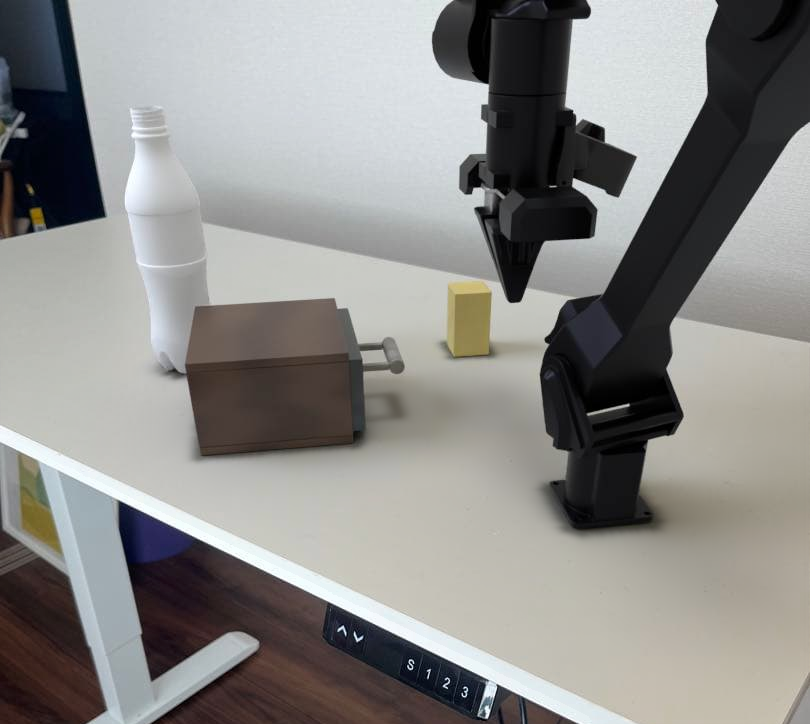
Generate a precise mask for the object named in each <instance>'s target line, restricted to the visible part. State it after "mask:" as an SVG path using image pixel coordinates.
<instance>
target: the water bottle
mask: <svg viewBox="0 0 810 724" xmlns="http://www.w3.org/2000/svg"><path fill="white" fill-rule="evenodd" d="M129 113H130V119H131V123H132V126H131V130H132V133H131V138H132V139H134V143H135V144H134V146H135V147H134V149H135V151H134V158H133V162H132V166H131V168H130V172H129V175H128V179H127V183H126V186H125V191H124V209H125V211H126V212H127V217H128V223H129V228H130V234H131V238H132V239H131V240H132V243H133V249H134V253H135V260H136V264H137V266H138V268H139V271H140V274H141V276H142V279H143V283H144V286H145V291H146V294H147V295H146V296H147V299H148V305H149V313H150V342H151V346H152V350H153V352H154V355H155V357H156V359H157V360H158V362H159V364H160V365H161V366H162V367H163V368H164V369H165V370H167V371H172V370H173V369H176V371H177V372H179V373H180V374H183V375H186V369H185V360H186V354H187V349H188V343H189V338H190V332H191V327H192V321H193V316H194V310H195V307H196V306H211V305H212V304H211V300H210V295H209V287H208V275H207V262H208V253H207V248H206V241H205V233H204V228H203V227H204V226H203V220H202V213H201V207H200V206H201V200H200V195H199V193H198V190H197V188H196V187H195V184H194V183H193V182H192V179H191V178H190V176H189V175H188V173H187V171H186V169H184V167H183V165H182V163H180V161H179V159H178V158H177V156H176V155H175V153H174V151H173V148H172V145H171V142H170V138H169V137H171V132H170V131H169V130H168V128H169V126H168V125H167V124H166V116H165V111H164V106H161V105H144V106H134V107H130V108H129Z"/></svg>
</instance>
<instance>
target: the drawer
mask: <svg viewBox="0 0 810 724" xmlns="http://www.w3.org/2000/svg"><path fill="white" fill-rule="evenodd" d="M337 309H338V313H339V317H340V321H341V325H342V329H343V333H344V337H345V341H346V344H347V348H348V352H349V368H350V386H351V405H352V423H353V432H357V431H359V432H360V431H366V409H365V408H366V407H365V385H364V373H365V372H380V371H390V372H391V373H392V374H394V375H400V374H402V373H403V372H404V371H405V368H406V367H405V363H404V360H403V357H402V355H401V353H400V349H399V347H398V344H397V342H396V339H395V338H394V337H391V336H386V337H384V338H383V339H382V341H379V342H363V343H358V339H357V335H356V332H355V328H354V324H353V321H352V318H351V314H350V311H349V308H348V307H343V308H337ZM370 351H372V352H373V351H383V353H384V357H385V359H386V361H380V362H367V363H364V359H363V356H362V353H361V352H370Z"/></svg>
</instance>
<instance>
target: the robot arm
mask: <svg viewBox="0 0 810 724" xmlns="http://www.w3.org/2000/svg"><path fill="white" fill-rule="evenodd" d="M714 1H715V3H716V4H717V7H716V10H715V12H714V15H713V18H712V21H711V24H710V26H709V29H708V33H707V34H706V38H705V44H704V45H705V65H706V66H705V67H706V88H707V93H706V96H705V97H706V98H705V100H704V102H703V104H702V106H701V108H700V110H699V112H698V114H697V116H696V118H695V119H694V121H693V123H692V125H691V127H690V128H689V131H688V133H687V134H686V136H685V138H684V139H683V142H682V144H681V145H680V147H679V150H678V152H677V153H676V156H675V157H674V160H673V161H672V163H671V165H670V167H669V169H668V170H667V172H666V174H665V176H664V178H663V180H662V182H661V184H660V186H659V188H658V190H657V191H656V193H655V195H654V197H653V199H652V200H651V202H650V205H649V206H648V209H647V210H646V212H645V213H644V215H643V218H642V220H641V222H640V224H639V226H638V227H637V229H636V231H635V233H634V235H633V237H632V238H631V241H630V242H629V244H628V246H627V248H626V250H625V252H624V254H623V256H622V258H621V260H620V261H619V263H618V265H617V268H615V271H614V273H613V275H612V277H611V278H610V281H609V282H608V284H607V286H606V288H605V290H604V292H603V293H599V294H594V295H587V296H582V297H577V298H571V299H567V300H566V301H565V303H564V304H563V305H562V307H561V308H560V309H559V311H558V315H557V318H556V321H555V322H554V323H555V324H554V326H553V328H552V330H551V331H550V333H549V334H548V335H546V336H545V337H544V343H545V344H547V345H548V346H547V347H546V349H545V351H544V353H543V356H542V361H541V365H540V370H539V381H540V392H541V399H542V400H541V401H542V410H543V419H544V421H543V422H544V426H545V427H544V428H545V433H546V434H547V435H548V436H550V437H551V438H552V447H553V448H554V449H556V450H559V451H565V452H568V453H567V463H566V471H565V477H564V478H565V479H558V480H551V481H549V490H550V492H551V493H552V495H553V497H554V499H555V501H556V502H557V504H558V506H559V508H560V509H561V511H562V512H563V515H564V516H565V517H566V519H567V521H568V523H569V524H570V526H571V527H572V528H575V529H585V528H586V529H587V528H596V527H606V526H607V527H609V526H615V525H616V526H617V525H627V524H637V523H647V522H652V521H653V520H654V516H655V515H654V512H653V510H652V509H651V508H650V506H649V505H648V503H647V502H646V501H645V500H644V498H642V495H640V491H641V490H640V489H641V485H642V479H643V472H644V468H645V462H646V461H645V460H646V455H647V451H648V445H649V441H650V440H653V439H658V438H662V437H670V436H674V435H675V434H676V432H677V430H678V429H679V427H680V425H681V423H682V421H683V419H684V417H685V416H684V415H685V414H684V411H683V409H682V406H681V403H680V401H679V397H678V396H677V393H676V390H675V388H674V384H673V382H672V379H671V377H670V374H669V373H668V369H667V368H668V366H669V364H670V362H671V360H672V357H673V353H674V350H673V349H674V348H673V340H672V333H671V325H672V323H673V322H674V319H675V318H676V316H677V315H678V314H679V312H680V310H681V309H682V307H683V305H684V304H685V303H686V302H687V300H688V298H689V296H690V295H691V293H692V292H693V290H694V288H696V286H697V284H698V282H699V281H700V280H701V278H702V276H703V275H704V273H705V272H706V270H707V268H708V267H709V266H710V265H711V263H712V261H713V260H714V258H715V256H716V255H717V254H718V252H719V251H720V248H721V247H722V246H723V244H724V243H725V241H726V239H727V238H728V236H729V235H730V233H731V232H732V230H733V228H734V227H735V226H736V224H737V222H738V221H739V220H740V218H741V217H742V215H743V213H744V211H745V210H746V209H747V207H748V205H749V204H750V202H751V201H752V199H753V198H754V196H755V195H756V193H757V192H758V190H759V189H760V187H761V185H762V184H763V183H764V181H765V179H766V178H767V177H768V175H769V174H770V172H771V170H772V169H773V167H774V165H775V164H776V162H777V161H778V159H779V158H780V157H781V155H782V154H783V152H784V151H785V149H786V148H787V145H789V143H790V141H791V140H792V139H793V137H794V136H795V135H796V134H797V133H798V132H799V131H800V130H801V129H802V128H804V127H805V126H806V125H808V124H810V0H714ZM591 14H592V7H591V6H590V4H589V2H588V0H451V1H450V2H449V3H448V4H447V5H445V7H444V8H443V9H442V10H441V12H440V13H439V15H438V17H437V19H436V21H435V25H434V29H433V31H432V33H431V47H432V54H433V56H434V60H435V62H436V63H437V66H438V67H439V69H441V71H442V72H443V73H444V74H445V75H447V76H449V77H450V78H452V79H456V80H461V81H466V82H473V83H477V84H484V85H488V93H487V97H488V98H487V103H485V104H480V107H481V108H480V120H482V121H483V122H485V123H486V138H485V139H486V140H485V141H486V142H485V153H471V154H468V155H467V157H466V158H465V160H463V161H462V163H461V164H460V165H459V170H458V171H459V172H458V173H459V176H458V177H459V178H458V189H459V190H460V191H461V192H462V193H463V194H464V196H468V195H469V196H470V195H471V196H472V195H473V192H474V189H482V190H483V191H484V197H483V199H484V200H483V205H480V206H475V207H474V208H473V212H474V214H475V216H476V218H477V221H478V224H479V227H480V229H481V231H482V235H483V237H484V240H485V243H486V246H487V248H488V251H489V254H490V256H491V259H492V262H493V266H494V268H495V271H496V274H497V276H498V280H499V282H500V286H501V288H502V291H503V294H504V296H505V299H506V301H507V302H508V303H509V304H518V303H519V304H520V303H521V302H522V301H523V299H524V296H525V292H526V289H527V287H528V284H529V282H530V279H531V276H532V274H533V271H534V267H535V265H536V262H537V260H538V257H539V255H540V252H541V250H542V248H543V245H544V243H545V242H554V241H555V242H556V241H557V242H558V241H572V240H574V241H575V240H591V239H592V238H594V237H595V235H596V227H597V220H598V212H599V211H598V209H599V208H598V207H597V206H596V205H595V204H594V203H593V202H592V201H591V200H590V198H589V197H588V196H587V195H586V194H584V193H583V192H581V191H580V190H578V189H576V188H575V187H574V186H573V184H574V183H573V182H574V180H577V181H579V182H582V183H584V184H587V185H591V186H593V187H595V188H598V189H601V190H602V191H605V194H607V195H608V196H611V197H614V198H618V199H619V198H620V197H621V195H622V192H623V190H624V187H625V185H626V183H627V181H628V179H629V177H630V174H631V172H632V170H633V167H634V165H635V163H636V161H637V158H638V156H637V155H635V154H633V153H631V152H629V151H627V150H624V149H622V148H621V147H617V146H615V145H613V144H610V143H607V142H606V128H605V126H604V127H603V126H601V125H599V124H596V123H594V122H592V121H589V120H587V119H584V118H582V119H581V120H580V121H579V122H578V123H577V114H576V113H574V109H572V108H569V107H567V106H566V103H567V91H568V82H569V81H568V80H569V68H570V57H571V46H572V36H573V35H572V33H573V21H574V20H588V19H589V18H590V17H591ZM625 405H628V406H625ZM621 406H623V407H621ZM617 407H620V408H617ZM613 408H616V409H613ZM608 409H611V410H608ZM603 410H607V411H603ZM600 411H603V412H600ZM595 412H598V413H595ZM591 413H593V414H591ZM588 414H590V415H588Z"/></svg>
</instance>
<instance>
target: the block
mask: <svg viewBox="0 0 810 724" xmlns="http://www.w3.org/2000/svg"><path fill="white" fill-rule="evenodd" d="M492 296H493V291H491V289H490V288H489V286H488V285H487V284H486V283H485V281H484V280H475V281H459V282H448V283H447V304H446V305H447V313H446V314H447V316H446V346H447V347H448V349H449V351H450V353H451V354H452V355H451V356H452V357H453V358H457V357H472V356H473V357H474V356H487V355H490V338H491V337H490V336H491V335H490V334H491V319H492V318H491V317H492V315H491V313H492Z"/></svg>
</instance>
